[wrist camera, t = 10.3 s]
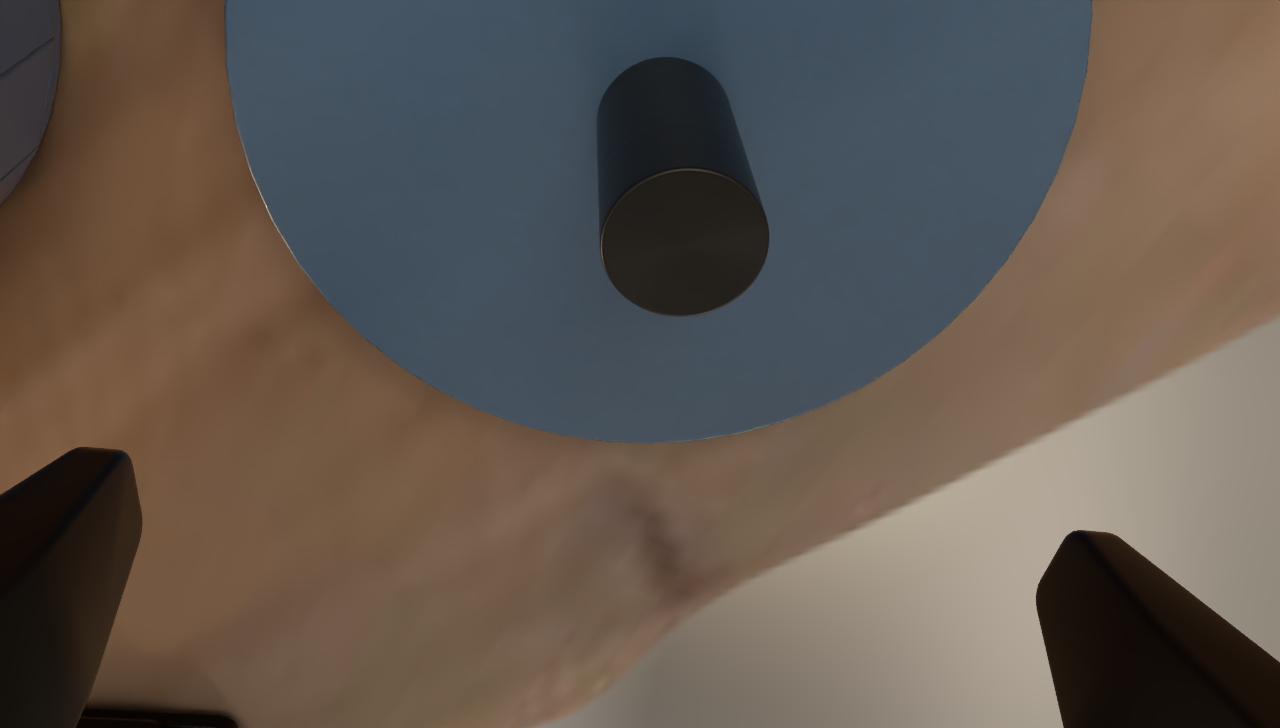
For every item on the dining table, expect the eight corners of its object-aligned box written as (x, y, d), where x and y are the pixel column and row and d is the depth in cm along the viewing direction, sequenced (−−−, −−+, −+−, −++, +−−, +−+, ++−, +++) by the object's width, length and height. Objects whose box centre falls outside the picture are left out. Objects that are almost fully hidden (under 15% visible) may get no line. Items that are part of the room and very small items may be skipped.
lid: (916, 439, 24) (995, 627, 19) (270, 381, 22) (187, 573, 17) (1225, -308, 15) (1504, -291, 10) (197, -514, 13) (-9, -602, 9)
